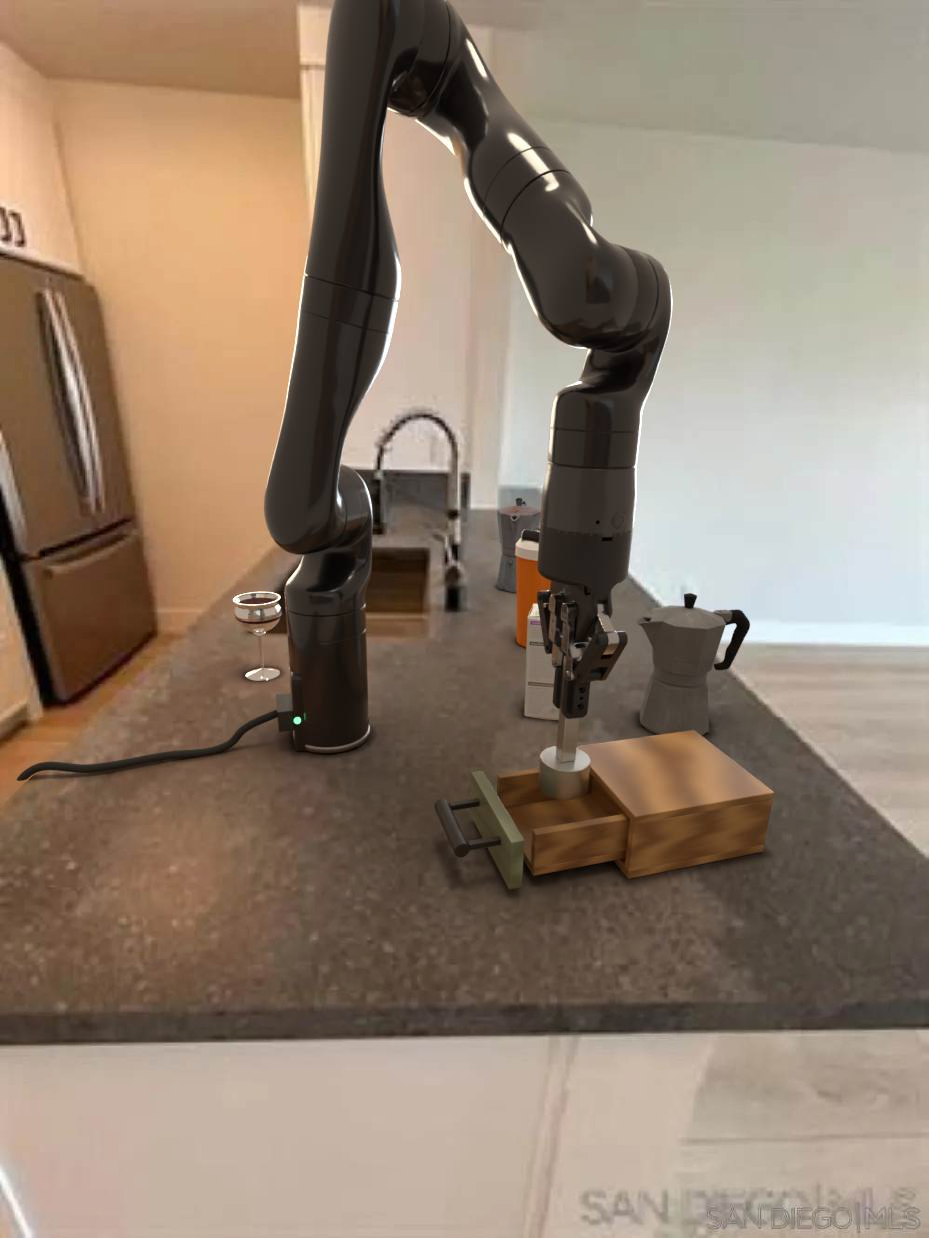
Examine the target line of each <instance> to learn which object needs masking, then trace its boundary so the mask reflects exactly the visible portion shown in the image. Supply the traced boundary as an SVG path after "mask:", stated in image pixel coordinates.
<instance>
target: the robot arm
mask: <svg viewBox="0 0 929 1238" xmlns="http://www.w3.org/2000/svg"><path fill="white" fill-rule="evenodd" d="M326 40H327V41H326V52H325V64H324V65H325V66H324V82H323V99H322V116H321V117H322V119H321V135H320V137H321V138H320V154H319V162H318V171H317V172H318V173H317V181H316V182H317V183H316V190H315V197H314V198H315V199H314V205H313V215H312V223H311V229H310V230H311V231H310V236H309V242H308V249H307V255H306V260H305V265H304V271H303V278H302V285H301V291H300V298H299V306H298V315H297V325H296V334H295V342H294V349H293V355H292V361H291V368H290V373H289V378H288V379H289V380H288V386H287V392H286V399H285V405H284V409H283V410H284V411H283V416H282V420H281V425H280V429H279V433H278V438H277V441H276V446H275V449H274V452H273V453H274V454H273V457H272V460H271V464H270V469H269V474H268V477H267V481H266V486H265V491H264V497H263V498H264V499H263V513H264V520H265V524H266V528H267V530H268V532H269V534H270V537H271V538H272V540H273V542H274V543H275V544H277V546H278V547H279V548H280V549H282V550H283V551H284V552H286V553H289V554H291V555H298V556H301V560H300V562H299V564H298V566H297V568H296V569H295V570H294V572H293V574H292V575H291V576H290V577H289V578H288V579H287V581H286V583H285V585H284V591H283V592H284V593H283V594H284V606H285V620H286V621H285V622H286V635H287V647H288V648H287V649H288V650H287V651H288V677H289V689H290V690H289V691H290V692H287V693H277V694H275V699H276V709H274V710H271V711H269V712H266V713H264V714H262V715H260V716H257V717H255V718H253V719H251V720H249V721H247V722H246V723H244V724H243V725H241V726H240V727H239V728H237V730H236V731H235V732H234V733H233V735H232V736H231V737H230V738H229V739H228V740H226V741H224V742H222V743H220V744H217V745H214V746H210V747H204V748H198V749H197V748H195V749H177V750H168V751H161V752H156V753H149V754H145V755H140V756H134V757H129V758H123V759H118V760H112V761H106V762H98V763H97V762H96V763H89V764H88V763H87V764H86V763H85V764H84V763H70V762H63V761H42V762H37V763H35V764H33V765H30V766H29V767H27V768H26V769H24V770H23V771H22V772H21V773H20V774H19V775H18V776H17V778H16V781H18V782H22V781H27V780H28V779H29V778H31V777H32V776H34V774H37V773H40V772H44V771H56V772H57V771H58V772H66V773H68V772H69V773H77V774H89V773H90V774H92V773H98V772H107V771H114V770H118V769H124V768H130V767H134V766H135V767H136V766H140V765H145V764H150V763H156V762H161V761H167V760H176V759H189V758H191V759H192V758H199V757H206V756H213V755H216V754H220V753H223V752H225V751H228V750H230V749H231V748H233V747H234V746H235V745H236V744H237V743H238V742H239V741H240V740H241V738H242V737H243V736H244V735H245V734H246V733H248V732H249V731H251V730H252V729H254V728H256V727H258V726H261V725H263V724H264V723H267V722H270V721H272V720H274V719H277V726H278V733H285V732H292V736H293V737H292V739H293V742H294V748H295V751H296V752H302V751H307V752H311V753H316V754H335V753H336V754H337V753H343V752H347V751H349V750H352V749H355V748H357V747H360V746H361V745H362V744H364V743H365V742H366V741H367V740H368V739H369V737H370V734H371V725H370V714H369V681H368V680H369V678H368V677H369V675H368V645H367V643H368V642H367V607H366V606H367V605H366V591H367V588H368V585H369V583H370V579H371V576H372V570H373V569H372V567H373V566H372V565H373V527H374V526H373V520H374V519H373V506H372V499H371V496H370V491H369V489H368V486H367V484H366V482H365V480H364V479H363V478H362V477H361V475H360V474H359V473H358V471H356V470H355V469H353V468H352V467H350V466H349V465H347V464H344V463H343V464H342V457H343V454H344V453H343V452H344V448H345V444H346V440H347V436H348V433H349V430H350V427H351V425H352V422H353V421H354V418H355V416H356V414H357V412H358V410H359V408H360V407H361V405H362V403H363V402H364V401H365V399H366V397H367V394H368V393H369V391H370V390H371V388H372V386H373V384H374V382H375V381H376V379H377V377H378V375H379V374H380V371H381V369H382V367H383V364H384V362H385V360H386V359H387V358H386V357H387V355H388V352H389V349H390V345H391V341H392V337H393V333H394V327H395V323H396V318H397V313H398V307H399V300H400V297H401V290H402V267H401V258H400V252H399V249H398V244H397V238H396V233H395V231H394V226H393V221H392V218H391V213H390V209H389V205H388V200H387V195H386V189H385V181H384V172H383V170H384V169H383V156H384V155H383V153H384V150H383V149H384V141H385V133H386V132H385V131H386V125H387V124H386V123H387V115H388V111H389V112H393V113H394V114H396V115H398V116H400V117H402V118H405V119H410V120H412V121H414V122H416V123H418V124H419V125H421V126H422V127H423V128H424V129H426V130H427V131H428V132H430V133H431V134H432V135H433V136H434V137H435V138H437V139H438V140H439V141H440V142H441V143H443V145H445V146H446V148H448V150H449V151H450V152H451V154H452V155H453V156H454V157H455V159H456V161H457V163H458V165H459V170H460V175H461V176H460V177H461V180H462V184H463V187H464V190H465V192H466V194H467V195H466V196H467V197H468V199H469V201H470V203H471V205H472V207H473V208H474V210H475V212H476V214H477V215H478V216H479V218H480V220H482V222H483V223H484V225H485V226H486V228H487V229H488V230H489V231H490V233H491V234H492V235H493V236H494V238H495V239H496V240H497V242H498V243H499V244H500V246H501V247H502V249H503V250H504V251H505V252H506V253H507V255H508V256H509V257H510V258H511V260H512V261H513V263H514V267H515V269H516V273H517V276H518V278H519V281H520V282H521V285H522V287H523V291H524V293H525V295H526V297H527V300H528V303H529V305H530V307H531V309H532V312H533V313H534V316H536V318H537V320H538V321H539V322H540V324H541V325H542V327H544V329H545V330H546V331H547V332H549V334H550V335H552V336H553V337H554V338H555V339H556V340H558V341H559V342H561V343H563V344H564V345H566V346H569V347H572V348H576V349H584V350H585V349H586V350H587V353H586V355H585V360H584V362H583V363H584V364H583V367H582V370H581V373H580V377H579V378H578V380H577V381H576V382H575V383H572V384H569V385H567V386H564V387H563V388H561V389H560V390H559V391H557V393H556V394H555V396H554V397H553V398H554V399H553V401H552V406H551V412H550V421H549V435H548V448H547V461H548V462H546V463H547V464H546V470H545V477H544V481H543V486H542V493H541V504H540V512H541V517H540V524H539V527H540V534H539V549H538V563H537V569H538V572H539V573H540V574H541V575H542V576H543V577H544V578H546V579H548V580H551V584H550V590H547V591H538V592H537V602H538V609H539V616H540V622H541V629H542V636H543V642H544V649H545V652H546V654H552V666H553V667H554V668H556V669H555V677H554V690H553V704H554V705H555V707H556V708H558V709H560V697H561V685H562V673H563V661H564V656H566V665H565V677H566V678H564V688H563V700H562V714H563V715H564V716H565V717H566V718H567V719H573V718H579V719H581V718H584V717H586V716H587V715H588V710H589V702H590V701H589V700H590V691H591V682H602V681H606V680H607V679H608V677H609V675H610V674H611V672H612V671H613V669H614V667H615V665H616V663H617V662H618V660H619V658H621V655H622V653H623V652H624V650H625V648H626V646H627V645H628V641H629V639H628V638H629V637H628V634H627V632H626V631H625V630H618V631H616V629H615V627H614V625H613V623H612V620H611V618H612V616H613V612H614V606H613V598H612V590H613V589H614V587H615V586H617V585H618V584H620V583H622V582H624V581H625V580H626V579H627V577H628V575H629V568H630V561H631V560H630V558H631V550H632V541H633V533H634V523H635V515H636V506H637V492H638V487H637V485H638V484H637V468H638V467H637V465H638V457H639V447H640V439H641V430H642V419H643V418H642V417H643V410H644V407H645V404H646V401H647V399H648V397H649V394H650V392H651V389H652V386H653V384H654V381H655V377H656V375H657V372H658V368H659V365H660V362H661V359H662V356H663V352H664V349H665V347H666V343H667V340H668V335H669V332H670V328H671V322H672V315H673V294H672V293H673V292H672V286H671V285H672V284H671V281H670V277H669V275H668V273H667V270H666V269H665V266H663V264H662V263H661V262H660V261H659V260H658V259H657V258H655V257H654V256H653V255H651V254H649V253H646V252H643V251H641V250H636V249H634V248H633V249H632V248H629V247H626V246H623V245H619V244H617V243H613V242H609V240H607V239H606V238H604V236H602V235H601V234H600V233H599V232H598V231H597V230H596V229H595V228H594V227H593V219H594V213H593V207H592V204H591V203H592V202H591V200H590V198H589V197H588V194H587V193H586V191H585V190H584V188H583V186H582V185H581V184H580V182H579V181H578V180H577V179H576V177H575V176H574V175H573V174H572V172H571V171H570V170H569V169H568V168H567V167H566V166H565V164H564V163H563V162H562V161H561V159H560V158H559V157H558V156H557V155H556V154H555V153H554V151H553V150H552V149H551V148H550V147H549V145H548V144H547V143H546V142H545V141H544V140H543V139H542V137H540V135H539V134H538V133H537V132H536V130H534V129H533V128H532V126H531V125H530V124H529V123H528V122H527V121H526V119H524V117H523V116H522V115H521V114H520V112H518V111H517V109H516V108H515V107H514V105H513V104H512V103H511V102H510V100H509V99H508V98H507V96H506V95H505V93H504V92H503V90H502V89H501V87H500V86H499V84H498V82H497V81H496V79H495V77H494V76H493V74H492V73H491V71H490V69H489V67H488V65H487V63H486V61H485V60H484V57H483V56H482V54H481V52H480V49H479V47H478V45H477V44H476V42H475V40H474V38H473V36H472V34H471V32H470V31H469V29H468V27H467V25H466V23H465V22H464V20H463V18H462V16H461V14H460V13H459V12H458V10H457V9H456V7H455V6H454V5H453V3H452V2H451V1H450V0H333V2H332V7H331V11H330V17H329V25H328V32H327V39H326ZM578 657H581V660H580V662H579V664H578V666H577V659H578Z"/></svg>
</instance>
